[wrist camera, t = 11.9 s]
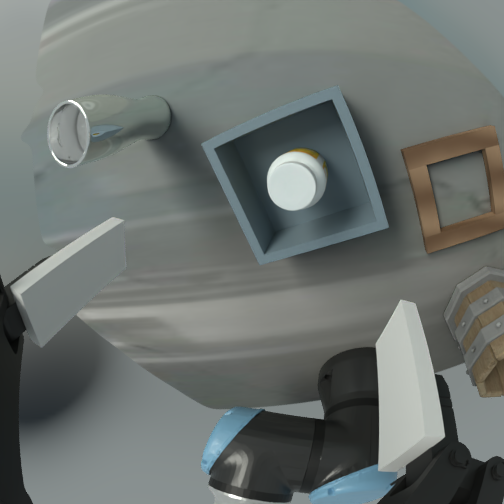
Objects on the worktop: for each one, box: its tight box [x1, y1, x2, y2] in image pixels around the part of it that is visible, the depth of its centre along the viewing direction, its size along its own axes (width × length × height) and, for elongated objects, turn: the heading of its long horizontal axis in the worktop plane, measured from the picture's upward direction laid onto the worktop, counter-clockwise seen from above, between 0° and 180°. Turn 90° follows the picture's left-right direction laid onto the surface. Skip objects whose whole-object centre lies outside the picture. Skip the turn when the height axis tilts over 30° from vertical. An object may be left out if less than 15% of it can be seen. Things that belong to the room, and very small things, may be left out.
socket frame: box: [401, 125, 504, 254], centre depth 27 cm, size 13×13×1 cm
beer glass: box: [47, 94, 171, 168], centre depth 28 cm, size 7×7×15 cm
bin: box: [201, 85, 389, 265], centre depth 30 cm, size 14×14×7 cm
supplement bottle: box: [267, 147, 328, 211], centre depth 27 cm, size 5×5×10 cm
